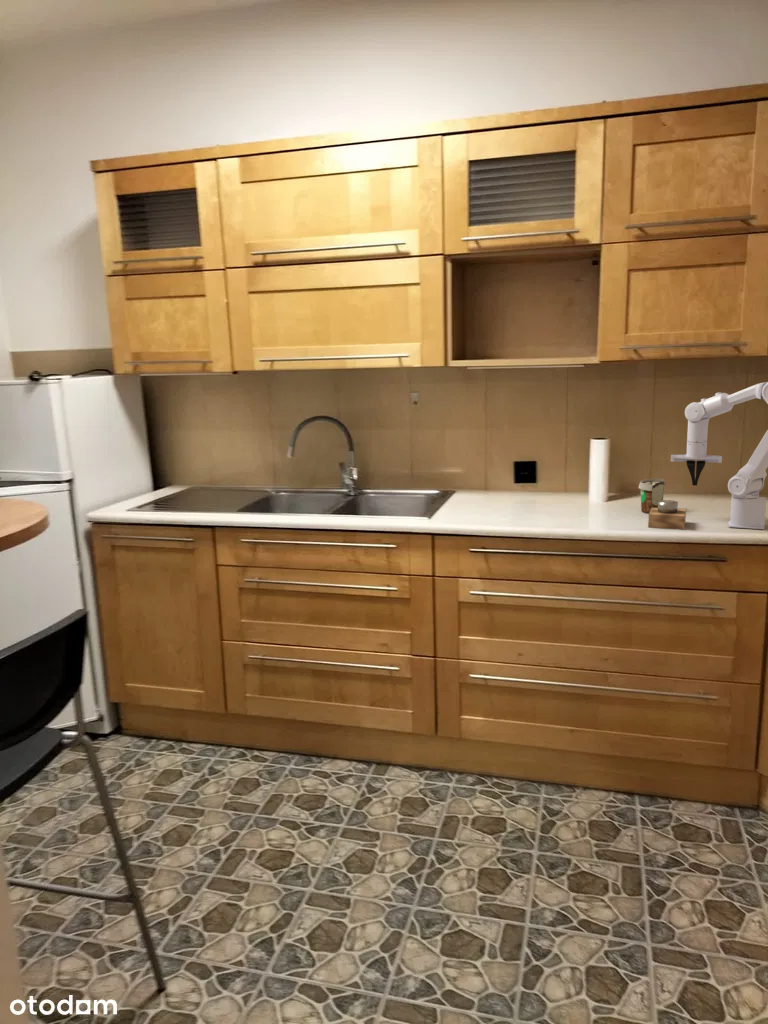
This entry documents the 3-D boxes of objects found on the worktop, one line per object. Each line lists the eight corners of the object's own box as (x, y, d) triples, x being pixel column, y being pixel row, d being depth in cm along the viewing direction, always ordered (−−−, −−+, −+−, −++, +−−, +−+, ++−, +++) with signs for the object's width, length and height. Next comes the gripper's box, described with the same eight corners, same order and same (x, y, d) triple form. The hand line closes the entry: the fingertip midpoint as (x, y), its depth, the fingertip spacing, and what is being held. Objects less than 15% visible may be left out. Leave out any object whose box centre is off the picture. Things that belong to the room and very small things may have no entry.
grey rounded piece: (677, 521, 226) (679, 500, 225) (675, 525, 222) (676, 504, 220) (658, 520, 229) (659, 499, 228) (655, 524, 224) (656, 503, 223)
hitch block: (685, 521, 228) (686, 509, 227) (683, 529, 219) (684, 516, 218) (650, 520, 232) (651, 507, 231) (648, 527, 223) (648, 514, 222)
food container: (645, 506, 251) (646, 477, 249) (663, 508, 248) (665, 478, 245) (631, 513, 242) (632, 483, 240) (650, 515, 238) (651, 484, 236)
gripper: (722, 440, 229) (720, 483, 231) (672, 439, 234) (670, 481, 237) (722, 443, 222) (720, 487, 225) (671, 442, 228) (669, 485, 231)
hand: (694, 484), depth 231 cm, fingers closed
